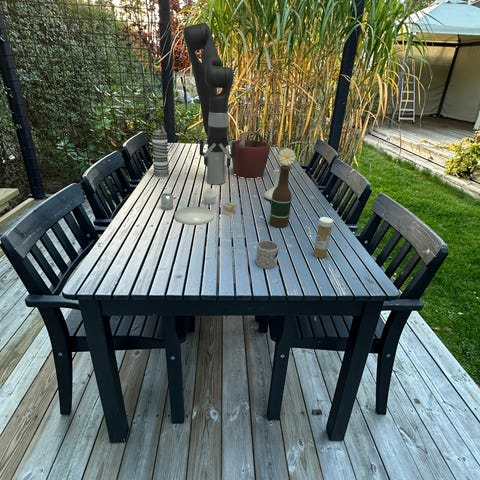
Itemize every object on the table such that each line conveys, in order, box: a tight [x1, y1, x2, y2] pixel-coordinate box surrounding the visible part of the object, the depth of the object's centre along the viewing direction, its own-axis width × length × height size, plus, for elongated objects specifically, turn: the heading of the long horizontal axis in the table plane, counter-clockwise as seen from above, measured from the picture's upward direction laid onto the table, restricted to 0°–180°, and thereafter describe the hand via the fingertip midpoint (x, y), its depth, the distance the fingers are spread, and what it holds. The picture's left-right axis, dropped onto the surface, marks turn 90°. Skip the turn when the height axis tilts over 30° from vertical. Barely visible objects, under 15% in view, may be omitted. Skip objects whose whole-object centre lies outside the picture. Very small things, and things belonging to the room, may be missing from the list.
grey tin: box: [160, 192, 174, 211], centre depth 145 cm, size 5×5×6 cm
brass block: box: [221, 202, 237, 217], centre depth 144 cm, size 4×4×4 cm
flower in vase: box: [263, 147, 297, 201], centre depth 159 cm, size 13×11×25 cm
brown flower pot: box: [230, 130, 271, 178], centre depth 195 cm, size 24×22×25 cm
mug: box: [255, 239, 280, 270], centre depth 108 cm, size 10×7×7 cm
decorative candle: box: [150, 129, 170, 180], centre depth 183 cm, size 9×9×25 cm
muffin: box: [202, 188, 218, 205], centre depth 154 cm, size 6×6×7 cm
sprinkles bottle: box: [312, 216, 334, 259], centre depth 112 cm, size 5×5×13 cm
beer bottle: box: [269, 164, 292, 229], centre depth 132 cm, size 8×8×24 cm
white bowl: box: [174, 206, 215, 226], centre depth 139 cm, size 16×16×2 cm
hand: (217, 166), depth 136 cm, fingers open, 8 cm apart
